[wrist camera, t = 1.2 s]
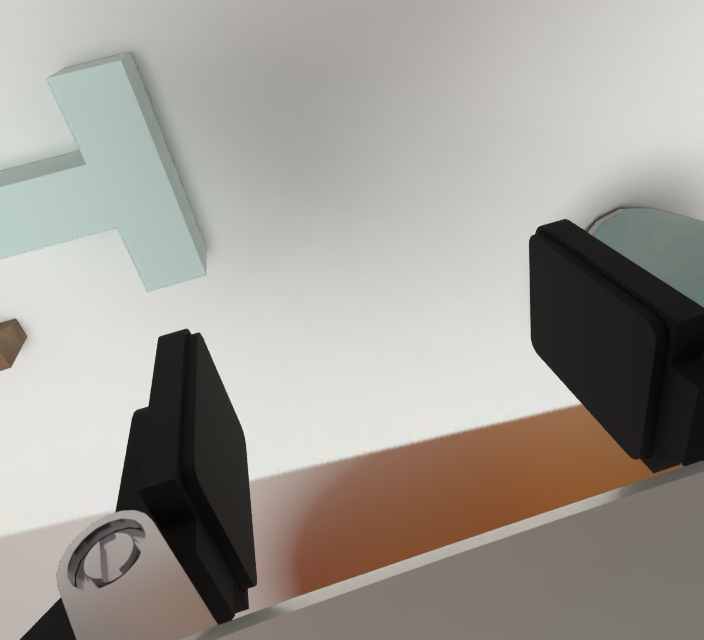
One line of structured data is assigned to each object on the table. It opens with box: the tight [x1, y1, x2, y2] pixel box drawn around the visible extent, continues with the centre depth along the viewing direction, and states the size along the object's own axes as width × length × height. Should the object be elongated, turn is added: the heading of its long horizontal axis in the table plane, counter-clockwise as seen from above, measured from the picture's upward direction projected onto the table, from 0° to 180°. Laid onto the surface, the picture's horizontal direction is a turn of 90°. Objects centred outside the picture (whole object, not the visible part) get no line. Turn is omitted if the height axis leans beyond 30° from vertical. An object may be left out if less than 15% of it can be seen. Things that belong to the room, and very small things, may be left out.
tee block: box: [0, 52, 206, 292], centre depth 26 cm, size 10×10×4 cm
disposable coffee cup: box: [588, 208, 704, 307], centre depth 30 cm, size 11×11×15 cm
